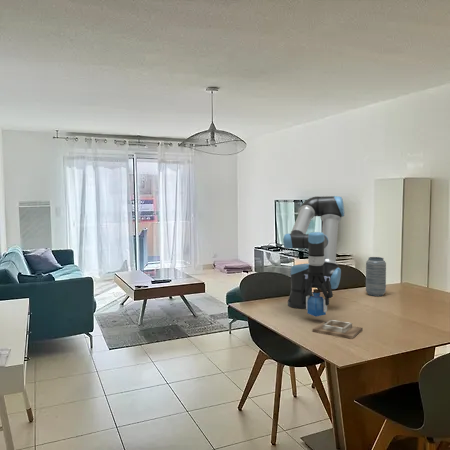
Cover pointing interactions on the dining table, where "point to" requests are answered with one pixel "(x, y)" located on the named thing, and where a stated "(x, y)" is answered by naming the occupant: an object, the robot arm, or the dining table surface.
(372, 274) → the vase
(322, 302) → the perfume bottle
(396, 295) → the dining table surface
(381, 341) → the dining table surface
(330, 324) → the brown board with frame
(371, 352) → the dining table surface
